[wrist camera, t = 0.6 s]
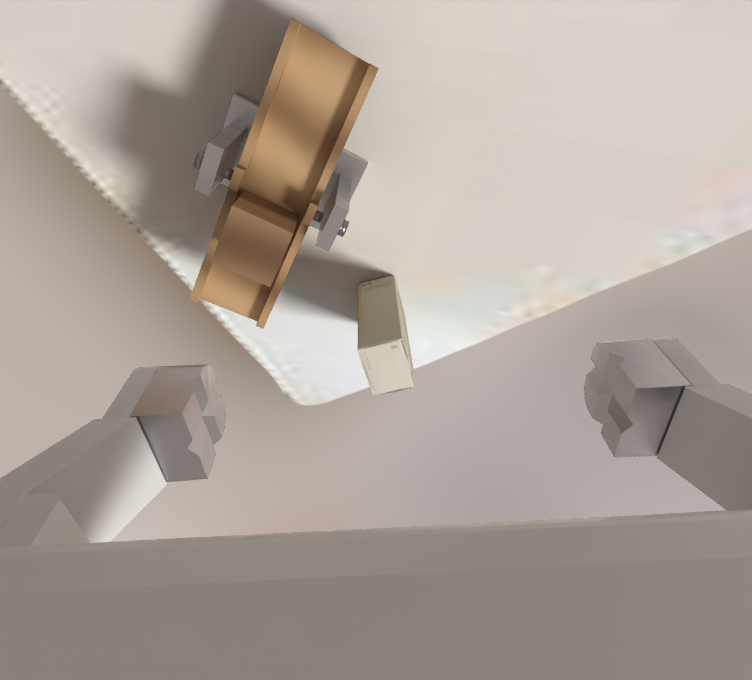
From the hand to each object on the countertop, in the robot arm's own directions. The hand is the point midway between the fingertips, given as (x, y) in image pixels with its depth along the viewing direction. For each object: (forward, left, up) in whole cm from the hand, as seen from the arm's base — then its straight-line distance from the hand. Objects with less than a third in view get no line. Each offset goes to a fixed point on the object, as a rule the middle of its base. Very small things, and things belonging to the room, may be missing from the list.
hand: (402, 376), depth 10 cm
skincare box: (+18, +10, -39) cm, 45 cm away
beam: (+10, -5, -36) cm, 38 cm away
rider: (+13, -5, -32) cm, 35 cm away
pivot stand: (+9, -5, -39) cm, 41 cm away
